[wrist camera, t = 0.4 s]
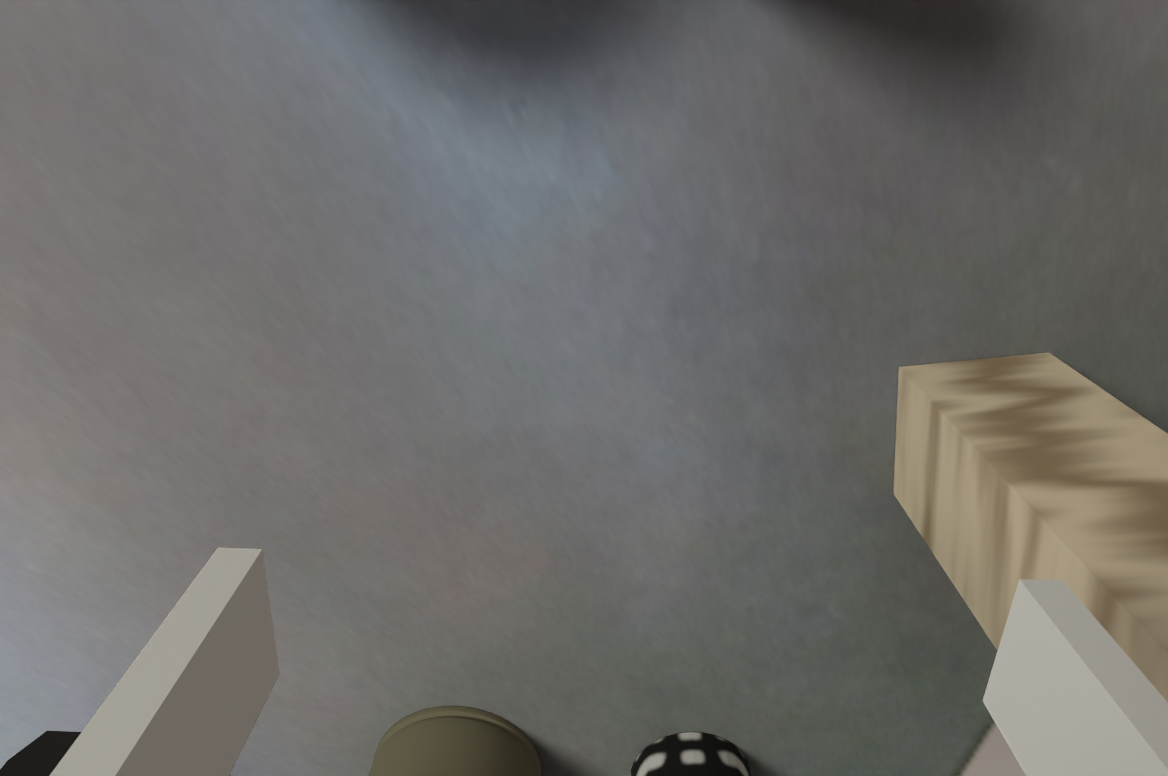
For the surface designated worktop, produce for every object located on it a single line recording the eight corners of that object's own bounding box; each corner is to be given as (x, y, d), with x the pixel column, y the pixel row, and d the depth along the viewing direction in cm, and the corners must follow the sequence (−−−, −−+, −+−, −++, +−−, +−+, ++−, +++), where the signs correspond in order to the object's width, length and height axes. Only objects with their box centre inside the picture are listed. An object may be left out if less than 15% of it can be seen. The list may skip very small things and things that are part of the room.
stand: (875, 509, 48) (1301, 1217, 19) (881, 351, 44) (1424, 940, 15) (1049, 494, 48) (1756, 1199, 19) (1070, 333, 44) (2003, 906, 15)
